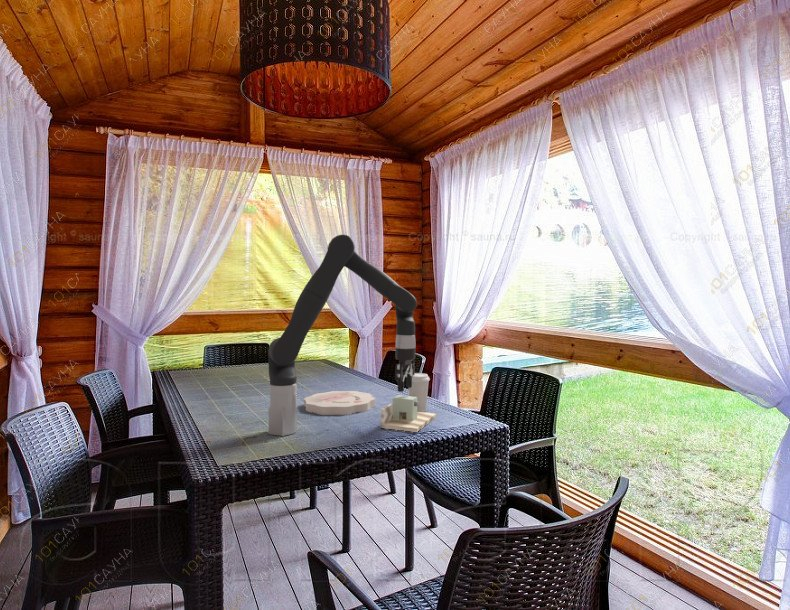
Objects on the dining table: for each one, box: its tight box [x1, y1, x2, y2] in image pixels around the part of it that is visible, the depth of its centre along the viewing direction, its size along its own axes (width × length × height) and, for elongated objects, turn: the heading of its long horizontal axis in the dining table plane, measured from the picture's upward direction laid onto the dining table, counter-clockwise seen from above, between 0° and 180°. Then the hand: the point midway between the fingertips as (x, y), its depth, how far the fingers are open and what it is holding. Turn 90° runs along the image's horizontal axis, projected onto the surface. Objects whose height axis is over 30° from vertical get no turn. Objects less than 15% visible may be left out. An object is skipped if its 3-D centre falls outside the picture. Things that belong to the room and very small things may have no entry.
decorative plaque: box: [303, 390, 376, 416], centre depth 211 cm, size 30×4×30 cm
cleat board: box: [380, 402, 437, 433], centre depth 185 cm, size 22×14×7 cm, turn 158°
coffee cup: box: [408, 372, 431, 413], centre depth 203 cm, size 10×10×15 cm
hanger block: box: [392, 394, 418, 421], centre depth 186 cm, size 5×9×8 cm, turn 68°
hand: (404, 389), depth 185 cm, fingers open, 8 cm apart
